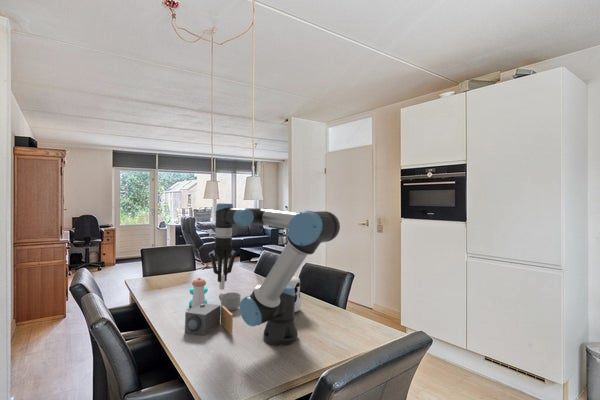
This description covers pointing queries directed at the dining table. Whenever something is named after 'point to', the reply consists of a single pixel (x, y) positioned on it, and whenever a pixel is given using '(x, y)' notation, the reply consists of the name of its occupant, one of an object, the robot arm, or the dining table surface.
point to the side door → (226, 319)
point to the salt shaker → (198, 292)
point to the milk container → (296, 292)
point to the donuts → (192, 294)
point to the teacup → (230, 300)
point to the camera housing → (202, 318)
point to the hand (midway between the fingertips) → (221, 288)
